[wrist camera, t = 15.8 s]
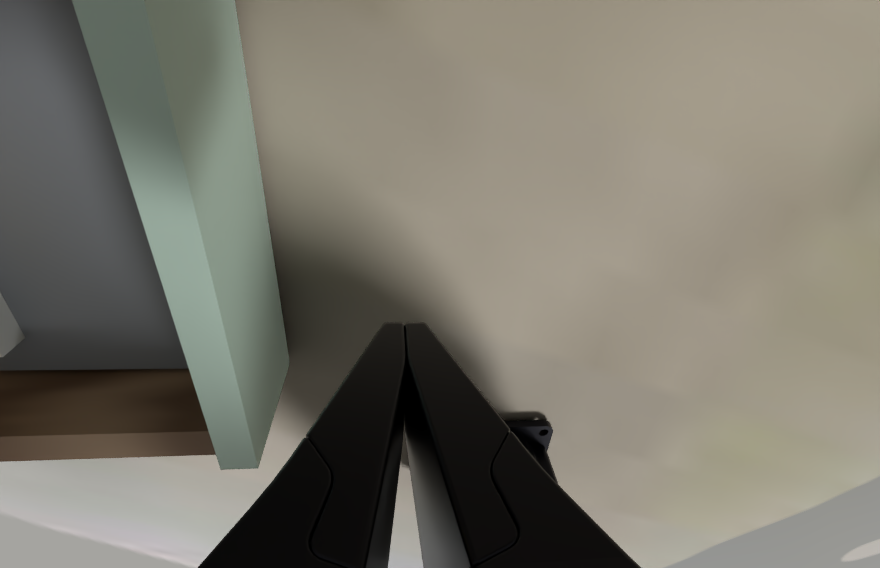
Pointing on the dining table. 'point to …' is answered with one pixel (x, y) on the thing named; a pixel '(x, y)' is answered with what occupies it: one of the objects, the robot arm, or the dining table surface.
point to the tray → (138, 205)
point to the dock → (100, 414)
